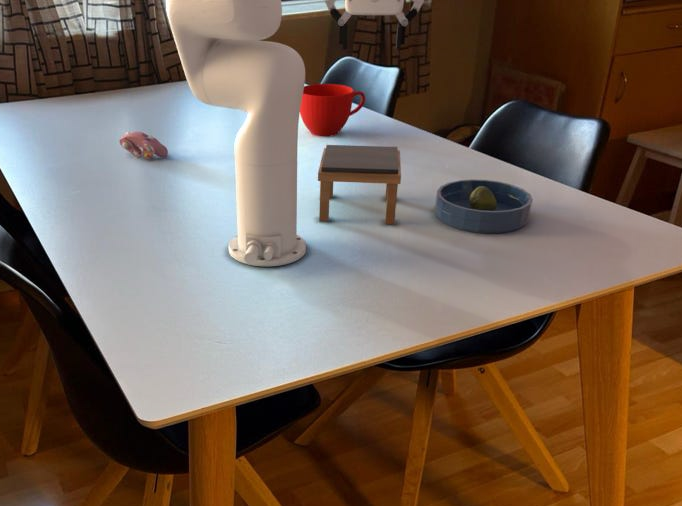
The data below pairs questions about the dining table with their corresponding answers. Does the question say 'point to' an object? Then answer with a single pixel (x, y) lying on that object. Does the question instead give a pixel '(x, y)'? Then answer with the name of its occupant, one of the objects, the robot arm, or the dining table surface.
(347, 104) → the ceramic cup
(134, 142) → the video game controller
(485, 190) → the lime
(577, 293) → the dining table surface
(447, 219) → the bowl
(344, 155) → the stool
